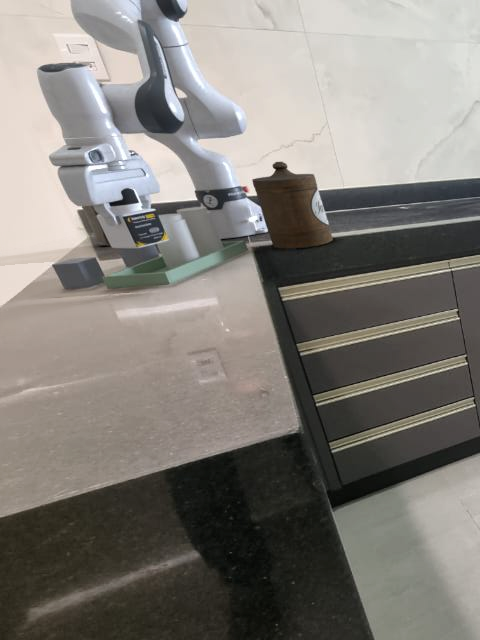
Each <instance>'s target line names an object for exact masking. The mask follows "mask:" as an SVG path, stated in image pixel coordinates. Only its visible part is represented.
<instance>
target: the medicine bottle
mask: <svg viewBox="0 0 480 640" xmlns="http://www.w3.org/2000/svg"><path fill="white" fill-rule="evenodd" d="M121 194H122V197H123V199H122V200H119V201H114V202H109V205H110V207H111V208H109V210H110V211H111V212H112V213H113V214H114V215H115V216H119V219H120V221H121V224H120V225H117V226H108V225H107V223H106V221H105V219H104V218H103V217H102V216H101V215H100V214H99V215H97V218H98V221H99V223H100V225H101V227H102V229H103V231H104V233H105V235H106V237H107V239H108V241H109V243H110V245H109V246H110V247H111V248H112V249H118V248H142V247H146V246H150V245H154V244H155V245H157V244H158V243H162V242H166V241H168V240H169V239H168V237H167V234H166V232H165V230H164V228H163V225H162V223H161V221H160V218H159V216H158V215H159V214H158V212H157V209H156V208H150V209H142V208H141V206H142V203H141V201H140V199H139V197H138V194H137V192H136V190H135V189H133V188H125V189H123V190H122V191H121Z"/></svg>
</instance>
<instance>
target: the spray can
mask: <svg viewBox="0 0 480 640" xmlns="http://www.w3.org/2000/svg"><path fill="white" fill-rule="evenodd" d="M81 209H82V211H83V213H84V215H85V218H86V220H87V222H88V224H89V226H90V229H91V231H92V233H93V235H94V237H95V238H96V241H97V243H98V246H111V245H110V243H109V241H108V239H107V237H106V235H105V233H104V231H103V229H102V227H101V225H100V223H99V221H98V218H97V215H99V213H97V212H96V211H95V210H94V208H93V206H81Z"/></svg>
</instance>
